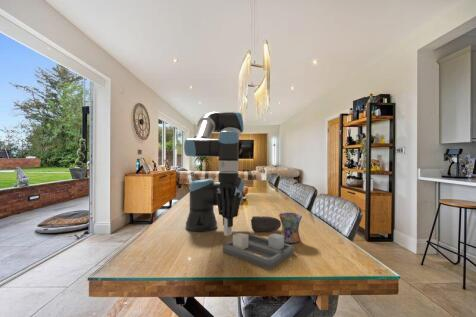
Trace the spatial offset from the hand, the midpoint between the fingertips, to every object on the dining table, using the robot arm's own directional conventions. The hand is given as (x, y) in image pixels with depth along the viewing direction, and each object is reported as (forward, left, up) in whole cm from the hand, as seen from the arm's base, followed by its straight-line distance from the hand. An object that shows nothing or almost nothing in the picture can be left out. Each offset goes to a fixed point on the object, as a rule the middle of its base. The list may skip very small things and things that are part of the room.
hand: (227, 234), depth 88 cm
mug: (+13, +24, -5) cm, 28 cm away
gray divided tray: (+11, +4, -5) cm, 13 cm away
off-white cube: (+6, 0, -3) cm, 7 cm away
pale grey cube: (+16, +8, -3) cm, 18 cm away
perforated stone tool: (-1, +27, -5) cm, 28 cm away
